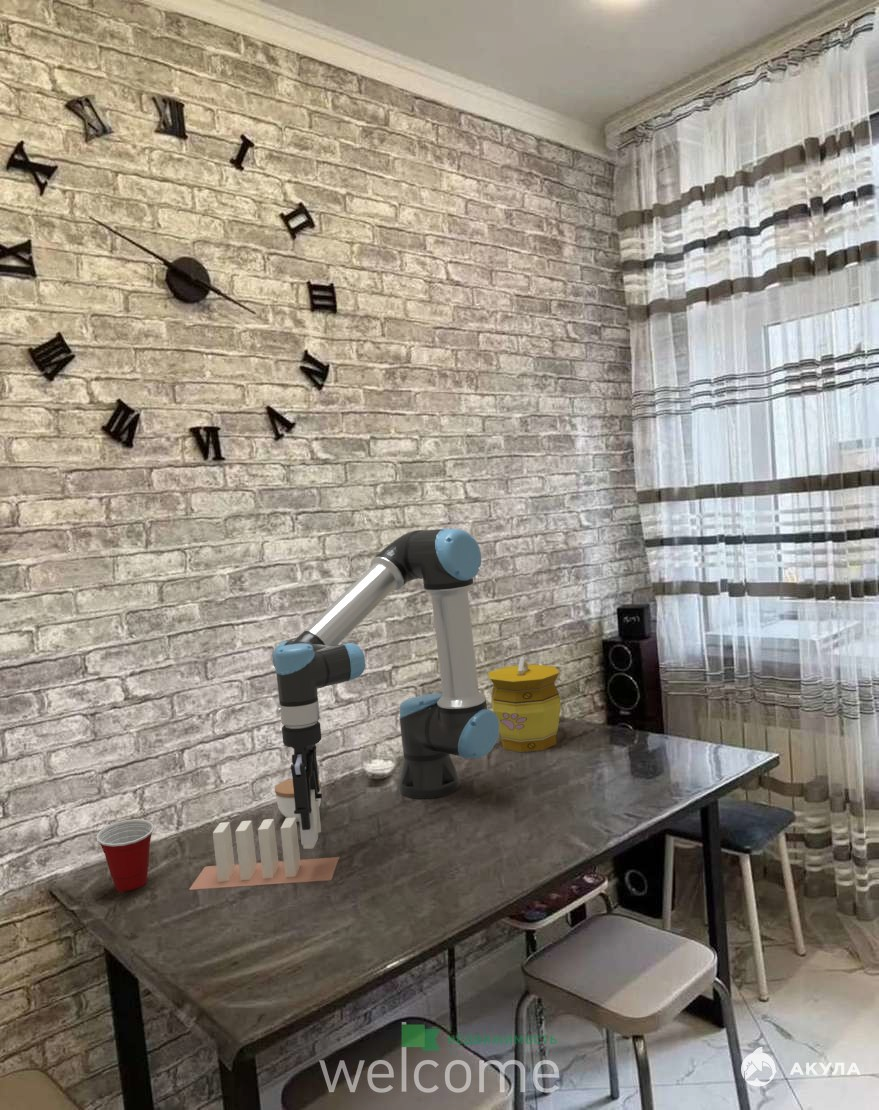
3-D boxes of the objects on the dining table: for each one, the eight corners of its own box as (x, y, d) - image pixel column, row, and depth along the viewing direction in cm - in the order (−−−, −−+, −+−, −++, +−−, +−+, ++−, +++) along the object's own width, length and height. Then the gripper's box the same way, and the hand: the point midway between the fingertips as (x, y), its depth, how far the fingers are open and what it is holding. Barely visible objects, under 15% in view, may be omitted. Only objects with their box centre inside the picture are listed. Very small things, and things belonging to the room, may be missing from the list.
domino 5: (318, 837, 168) (314, 789, 167) (313, 848, 163) (309, 798, 162) (308, 838, 168) (304, 789, 167) (303, 848, 163) (299, 799, 162)
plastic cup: (113, 906, 159) (106, 846, 158) (95, 888, 167) (88, 831, 166) (168, 886, 166) (162, 827, 165) (149, 869, 174) (142, 814, 173)
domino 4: (300, 865, 168) (295, 817, 168) (295, 876, 164) (290, 827, 163) (290, 865, 169) (286, 818, 168) (285, 877, 164) (280, 828, 163)
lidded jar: (268, 823, 194) (264, 783, 193) (296, 806, 203) (293, 768, 203) (305, 828, 189) (301, 788, 188) (332, 810, 198) (329, 772, 198)
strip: (339, 859, 171) (339, 857, 171) (331, 882, 161) (331, 879, 161) (205, 869, 172) (205, 866, 172) (189, 892, 162) (189, 889, 162)
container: (572, 733, 243) (566, 648, 241) (556, 756, 223) (549, 665, 221) (503, 731, 250) (497, 649, 249) (482, 753, 231) (474, 665, 229)
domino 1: (235, 869, 169) (229, 822, 168) (228, 881, 164) (222, 832, 163) (225, 870, 169) (220, 822, 168) (218, 881, 164) (212, 832, 163)
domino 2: (256, 868, 169) (251, 820, 168) (250, 879, 164) (245, 830, 163) (247, 868, 169) (242, 821, 168) (240, 880, 164) (235, 831, 163)
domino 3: (278, 866, 169) (273, 818, 168) (273, 878, 164) (267, 828, 163) (269, 867, 169) (264, 819, 168) (263, 878, 164) (257, 829, 163)
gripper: (291, 712, 173) (301, 821, 174) (271, 737, 155) (282, 858, 156) (327, 710, 172) (337, 819, 174) (311, 735, 154) (322, 856, 156)
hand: (311, 837), depth 165 cm, fingers closed on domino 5, 5 cm apart
